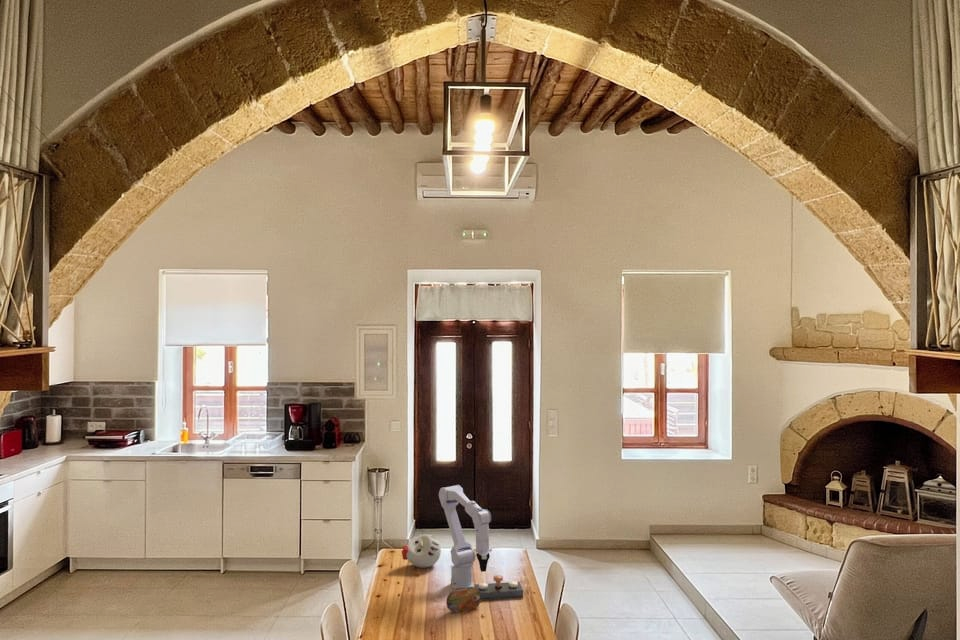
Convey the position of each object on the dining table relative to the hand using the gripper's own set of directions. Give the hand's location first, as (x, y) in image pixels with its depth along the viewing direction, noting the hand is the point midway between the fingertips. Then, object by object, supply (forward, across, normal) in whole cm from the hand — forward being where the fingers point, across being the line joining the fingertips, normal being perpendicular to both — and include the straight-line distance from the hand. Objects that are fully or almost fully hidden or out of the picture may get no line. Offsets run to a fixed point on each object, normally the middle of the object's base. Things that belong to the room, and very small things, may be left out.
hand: (483, 571), depth 281 cm
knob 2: (+10, 0, -13) cm, 16 cm away
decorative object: (+10, +40, +27) cm, 49 cm away
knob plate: (+10, 0, -6) cm, 12 cm away
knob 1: (+10, 0, 0) cm, 10 cm away
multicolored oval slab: (+11, -14, +10) cm, 20 cm away
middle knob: (+7, 0, -6) cm, 10 cm away
